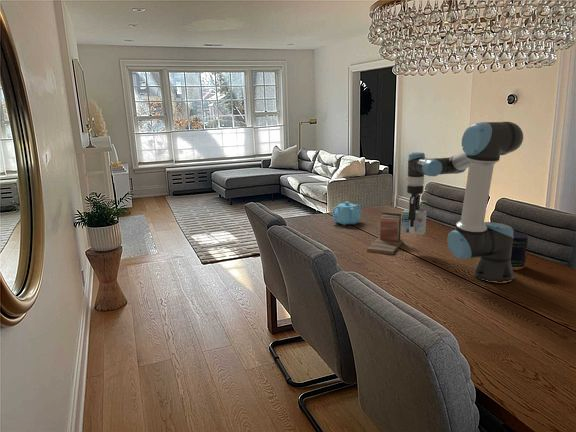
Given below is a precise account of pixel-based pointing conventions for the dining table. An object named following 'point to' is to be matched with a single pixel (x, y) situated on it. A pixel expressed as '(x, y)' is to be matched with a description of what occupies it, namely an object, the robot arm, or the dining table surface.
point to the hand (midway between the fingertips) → (413, 230)
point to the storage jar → (519, 249)
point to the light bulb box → (419, 221)
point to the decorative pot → (346, 213)
